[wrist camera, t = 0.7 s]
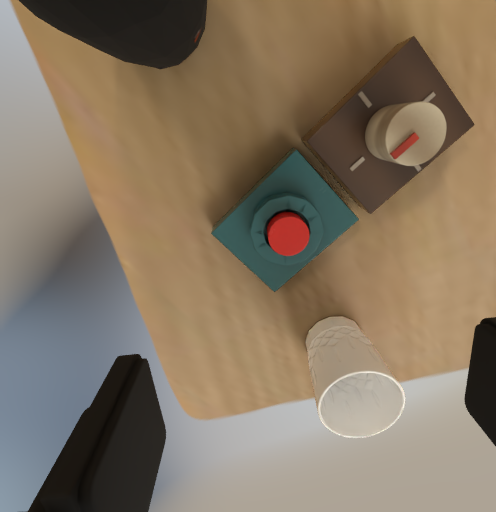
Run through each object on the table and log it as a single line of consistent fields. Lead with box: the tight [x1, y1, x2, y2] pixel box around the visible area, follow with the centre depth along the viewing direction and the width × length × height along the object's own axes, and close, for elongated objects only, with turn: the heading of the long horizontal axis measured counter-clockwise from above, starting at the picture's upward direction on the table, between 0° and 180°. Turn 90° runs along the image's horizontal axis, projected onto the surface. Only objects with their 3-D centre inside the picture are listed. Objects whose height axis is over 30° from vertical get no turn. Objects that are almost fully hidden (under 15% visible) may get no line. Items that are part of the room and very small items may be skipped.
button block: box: [211, 148, 359, 292], centre depth 33 cm, size 11×9×4 cm
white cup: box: [305, 316, 405, 438], centre depth 35 cm, size 8×8×10 cm
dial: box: [365, 101, 447, 166], centre depth 26 cm, size 4×4×5 cm
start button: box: [267, 212, 309, 256], centre depth 30 cm, size 4×4×2 cm
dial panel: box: [302, 36, 474, 214], centre depth 30 cm, size 11×9×3 cm
